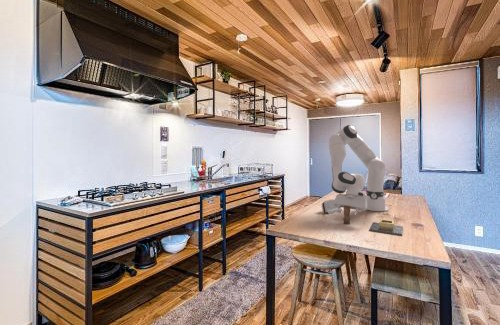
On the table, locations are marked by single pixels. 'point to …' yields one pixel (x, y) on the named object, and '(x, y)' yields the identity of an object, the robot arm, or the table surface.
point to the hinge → (329, 207)
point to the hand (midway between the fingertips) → (346, 213)
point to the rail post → (346, 214)
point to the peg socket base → (386, 227)
